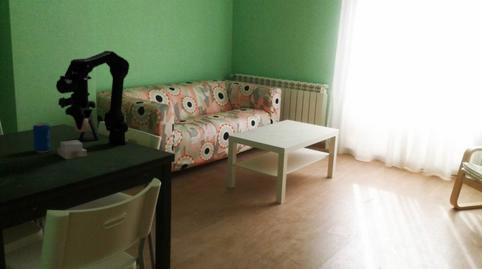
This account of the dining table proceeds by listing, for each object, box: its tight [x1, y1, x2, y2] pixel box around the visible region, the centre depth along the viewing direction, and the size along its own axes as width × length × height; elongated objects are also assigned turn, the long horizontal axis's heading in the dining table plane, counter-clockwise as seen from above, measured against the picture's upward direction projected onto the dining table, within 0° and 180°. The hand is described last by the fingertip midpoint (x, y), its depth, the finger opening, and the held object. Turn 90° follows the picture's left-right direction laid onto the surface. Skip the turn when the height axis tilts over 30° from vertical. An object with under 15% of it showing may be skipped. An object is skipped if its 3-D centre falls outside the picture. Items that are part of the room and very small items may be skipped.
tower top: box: [59, 139, 83, 153], centre depth 188 cm, size 7×7×3 cm
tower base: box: [56, 147, 88, 160], centre depth 189 cm, size 9×9×3 cm
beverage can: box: [32, 122, 52, 154], centre depth 190 cm, size 6×6×12 cm
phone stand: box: [78, 113, 100, 142], centre depth 213 cm, size 9×6×12 cm, turn 103°
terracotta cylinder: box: [74, 118, 89, 133], centre depth 185 cm, size 5×5×5 cm
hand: (81, 128), depth 185 cm, fingers closed on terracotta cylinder, 5 cm apart
